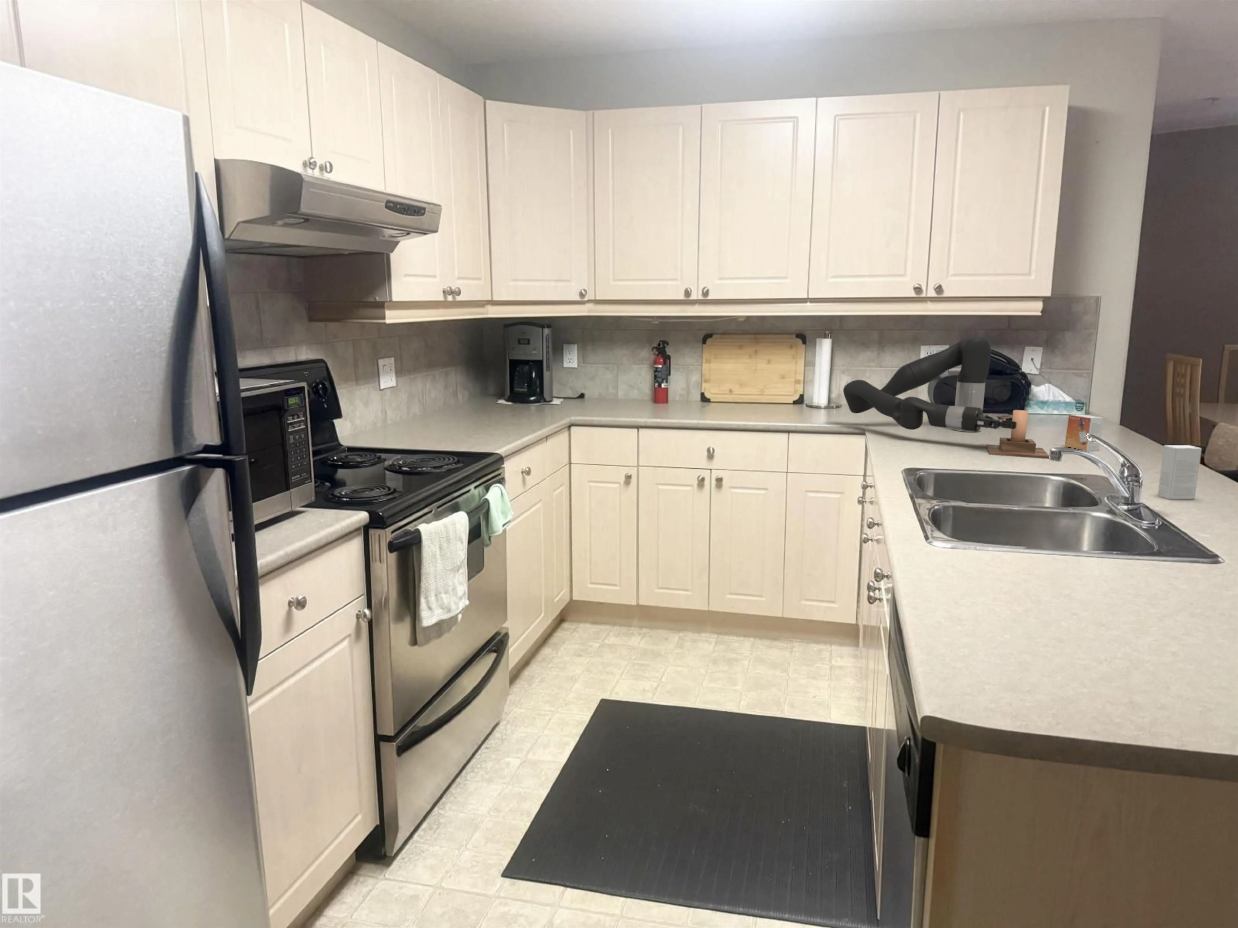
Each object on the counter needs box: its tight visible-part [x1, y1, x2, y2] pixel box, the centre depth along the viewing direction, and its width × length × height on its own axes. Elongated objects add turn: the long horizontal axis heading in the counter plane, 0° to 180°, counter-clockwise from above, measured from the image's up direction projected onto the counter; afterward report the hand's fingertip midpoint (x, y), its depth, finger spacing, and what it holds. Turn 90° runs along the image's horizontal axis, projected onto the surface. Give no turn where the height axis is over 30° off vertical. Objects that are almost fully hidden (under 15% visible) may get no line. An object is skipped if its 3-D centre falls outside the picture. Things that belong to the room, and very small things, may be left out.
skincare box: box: [1157, 444, 1202, 500], centre depth 183 cm, size 6×4×12 cm
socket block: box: [985, 437, 1050, 460], centre depth 242 cm, size 16×16×4 cm
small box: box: [1064, 413, 1104, 452], centre depth 249 cm, size 8×6×10 cm
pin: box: [1009, 409, 1029, 442], centre depth 241 cm, size 4×4×12 cm
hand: (1019, 424), depth 241 cm, fingers open, 8 cm apart
